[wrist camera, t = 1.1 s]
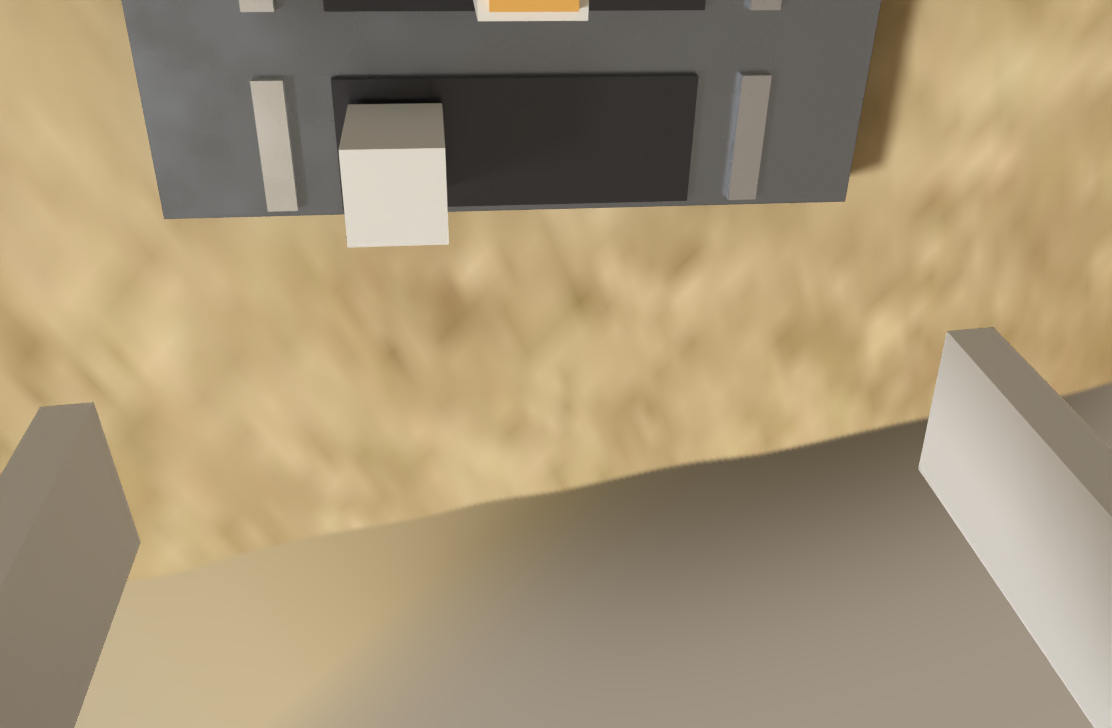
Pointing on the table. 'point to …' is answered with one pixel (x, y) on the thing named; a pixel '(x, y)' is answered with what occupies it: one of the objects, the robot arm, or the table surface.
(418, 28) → the panel
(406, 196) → the block
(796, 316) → the table surface
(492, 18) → the block
